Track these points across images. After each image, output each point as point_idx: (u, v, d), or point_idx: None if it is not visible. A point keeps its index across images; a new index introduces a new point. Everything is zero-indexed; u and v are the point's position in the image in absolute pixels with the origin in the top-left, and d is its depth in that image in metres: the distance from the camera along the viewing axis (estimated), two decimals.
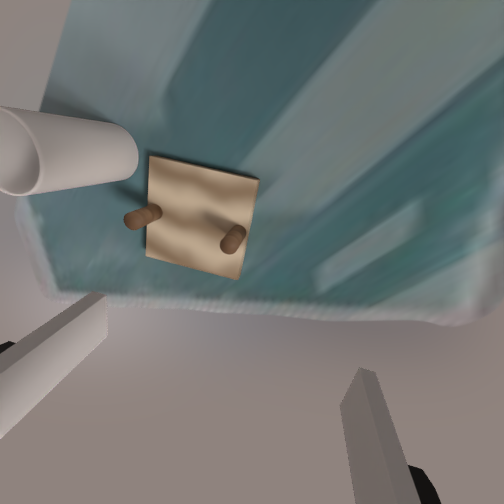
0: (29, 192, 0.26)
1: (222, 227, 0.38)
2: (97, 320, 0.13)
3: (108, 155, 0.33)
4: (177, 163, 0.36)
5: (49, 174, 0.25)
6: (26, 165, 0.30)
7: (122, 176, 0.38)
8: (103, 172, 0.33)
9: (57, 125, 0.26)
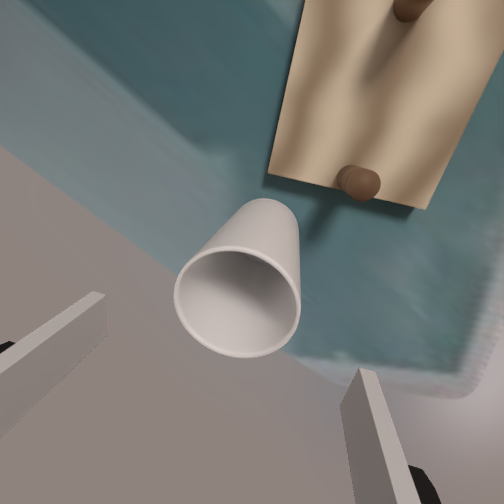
0: (295, 291, 0.15)
1: (395, 42, 0.21)
2: (97, 320, 0.13)
3: (260, 211, 0.23)
4: (279, 128, 0.24)
5: (269, 252, 0.15)
6: (264, 312, 0.22)
7: (292, 218, 0.27)
8: (281, 221, 0.22)
9: None
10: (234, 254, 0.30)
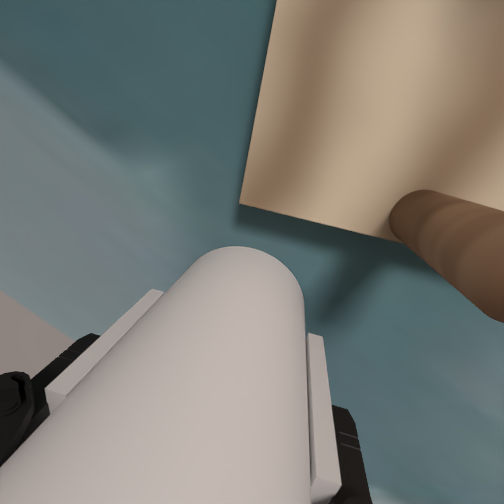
0: None
1: None
2: None
3: (210, 309, 0.09)
4: (261, 105, 0.11)
5: None
6: None
7: (292, 295, 0.13)
8: (262, 341, 0.09)
9: None
10: None
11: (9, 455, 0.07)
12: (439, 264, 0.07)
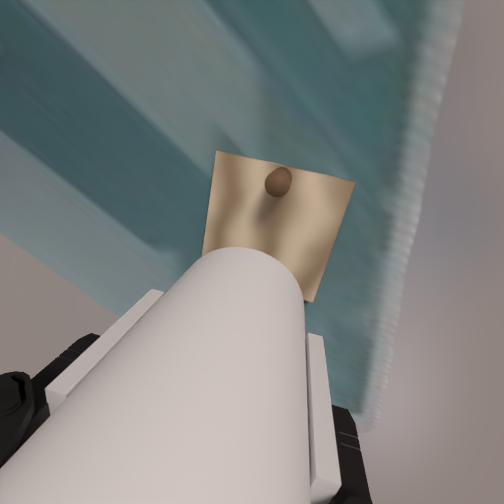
0: None
1: (275, 199, 0.30)
2: None
3: (210, 310, 0.09)
4: (204, 244, 0.34)
5: None
6: None
7: (292, 295, 0.13)
8: (261, 342, 0.09)
9: None
10: None
11: (9, 455, 0.07)
12: None
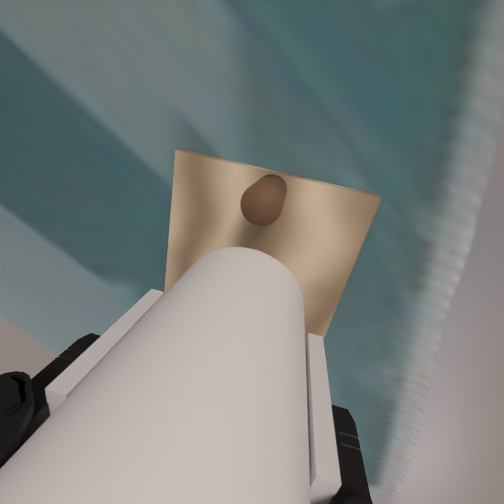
0: None
1: None
2: None
3: (210, 310, 0.09)
4: (167, 279, 0.24)
5: None
6: None
7: (292, 295, 0.13)
8: (261, 342, 0.09)
9: None
10: None
11: (9, 455, 0.07)
12: None
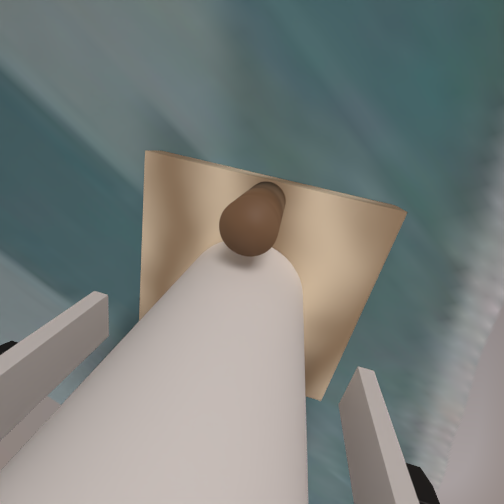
0: None
1: None
2: (99, 320, 0.13)
3: (219, 291, 0.11)
4: (141, 306, 0.20)
5: None
6: None
7: (292, 282, 0.15)
8: (265, 318, 0.10)
9: (40, 430, 0.06)
10: None
11: None
12: None
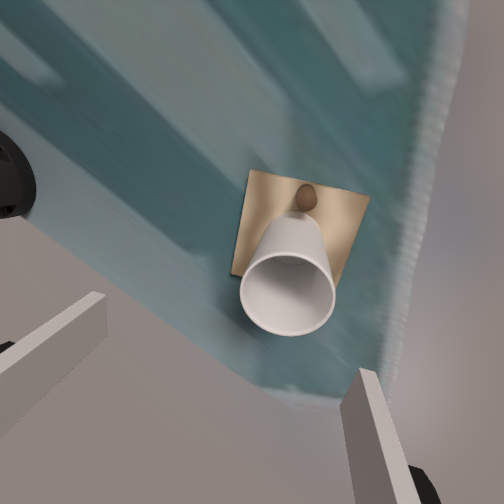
0: (332, 284, 0.21)
1: (300, 211, 0.35)
2: (97, 320, 0.13)
3: (295, 223, 0.29)
4: (236, 249, 0.39)
5: (312, 256, 0.21)
6: (300, 303, 0.27)
7: (318, 228, 0.33)
8: (312, 231, 0.28)
9: (261, 246, 0.25)
10: (268, 258, 0.36)
11: None
12: None
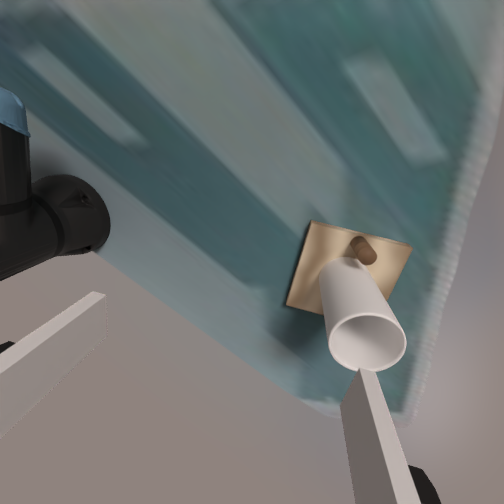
0: (404, 337, 0.27)
1: (352, 256, 0.42)
2: (97, 320, 0.13)
3: (357, 275, 0.36)
4: (293, 285, 0.45)
5: (389, 315, 0.28)
6: (364, 341, 0.34)
7: None
8: (372, 282, 0.35)
9: (340, 300, 0.31)
10: None
11: None
12: None
